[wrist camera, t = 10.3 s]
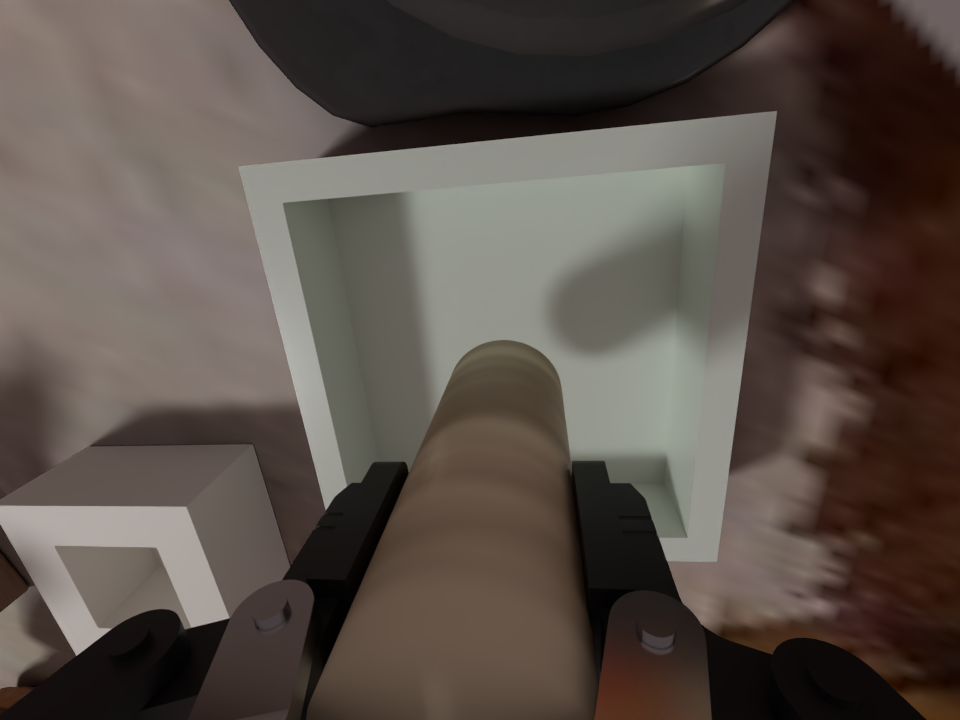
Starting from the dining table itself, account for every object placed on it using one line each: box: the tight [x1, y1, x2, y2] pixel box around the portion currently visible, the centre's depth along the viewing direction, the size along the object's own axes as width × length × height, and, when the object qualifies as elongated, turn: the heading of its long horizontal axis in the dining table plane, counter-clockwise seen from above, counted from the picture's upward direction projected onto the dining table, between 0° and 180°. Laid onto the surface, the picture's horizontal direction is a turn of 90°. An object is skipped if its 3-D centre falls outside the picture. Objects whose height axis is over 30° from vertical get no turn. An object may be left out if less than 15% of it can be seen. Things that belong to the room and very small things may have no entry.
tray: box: [239, 111, 777, 562], centre depth 18 cm, size 16×16×4 cm
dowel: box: [306, 340, 599, 720], centre depth 11 cm, size 4×4×11 cm
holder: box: [0, 444, 290, 656], centre depth 24 cm, size 10×10×5 cm
